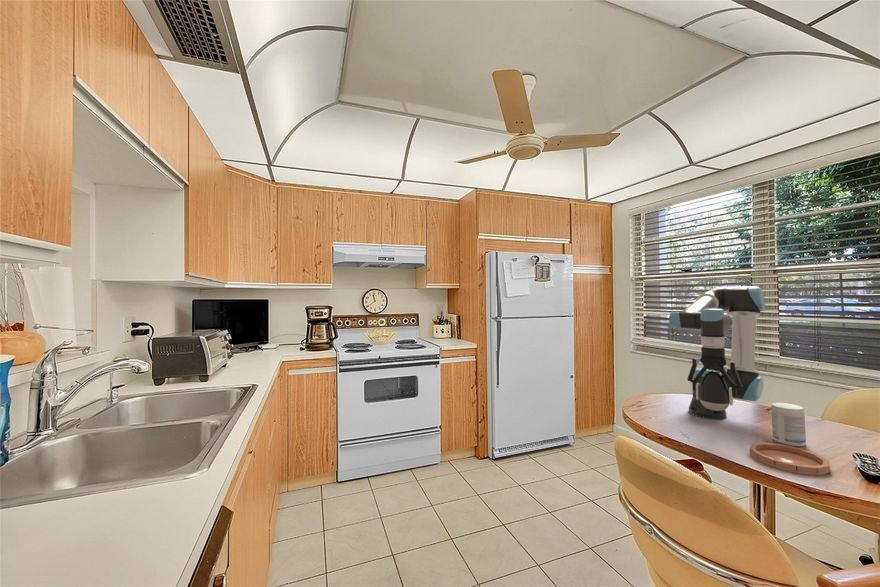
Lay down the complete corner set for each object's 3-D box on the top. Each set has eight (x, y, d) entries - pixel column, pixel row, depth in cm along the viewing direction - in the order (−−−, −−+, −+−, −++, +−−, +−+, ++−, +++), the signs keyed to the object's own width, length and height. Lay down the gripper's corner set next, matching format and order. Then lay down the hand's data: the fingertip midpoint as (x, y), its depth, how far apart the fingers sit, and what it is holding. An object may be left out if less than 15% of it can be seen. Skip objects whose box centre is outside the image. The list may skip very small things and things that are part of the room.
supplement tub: (810, 444, 139) (809, 407, 140) (799, 449, 135) (798, 410, 136) (779, 436, 148) (778, 401, 148) (767, 440, 144) (766, 404, 144)
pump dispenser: (737, 413, 136) (736, 374, 136) (707, 412, 138) (706, 373, 138) (722, 405, 146) (720, 368, 146) (693, 404, 148) (692, 368, 148)
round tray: (754, 444, 140) (754, 438, 140) (829, 461, 125) (829, 454, 125) (746, 460, 126) (746, 453, 126) (829, 481, 112) (829, 473, 112)
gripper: (677, 345, 148) (678, 398, 148) (748, 350, 132) (750, 410, 131) (682, 343, 153) (683, 394, 153) (751, 348, 137) (752, 405, 136)
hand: (714, 401), depth 142 cm, fingers closed on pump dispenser, 10 cm apart
